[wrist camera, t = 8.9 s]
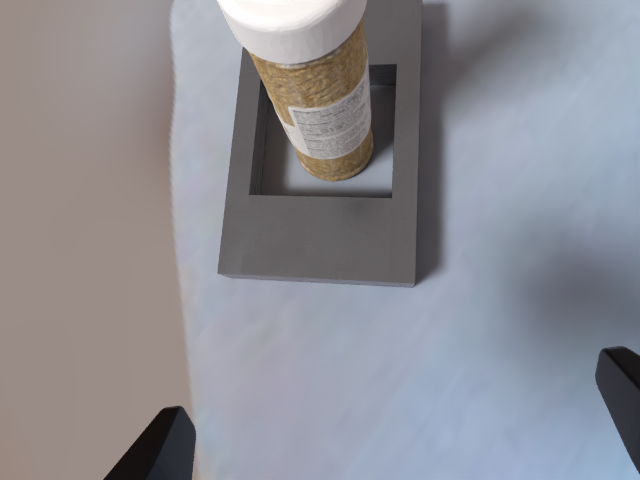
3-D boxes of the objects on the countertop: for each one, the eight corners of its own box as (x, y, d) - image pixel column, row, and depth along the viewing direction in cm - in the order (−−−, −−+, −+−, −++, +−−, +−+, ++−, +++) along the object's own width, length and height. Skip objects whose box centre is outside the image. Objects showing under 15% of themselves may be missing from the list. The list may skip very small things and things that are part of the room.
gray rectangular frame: (412, 287, 23) (414, 283, 21) (230, 278, 25) (217, 273, 23) (419, 18, 26) (422, -7, 24) (257, 25, 28) (248, 2, 26)
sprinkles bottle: (294, 116, 26) (202, -97, 13) (370, 104, 26) (355, -131, 13) (300, 189, 25) (208, 37, 12) (380, 179, 25) (374, 7, 12)
